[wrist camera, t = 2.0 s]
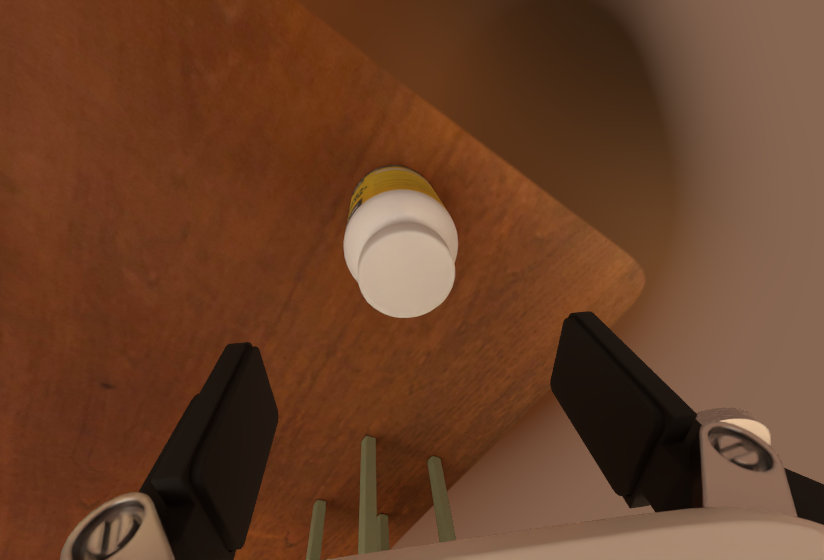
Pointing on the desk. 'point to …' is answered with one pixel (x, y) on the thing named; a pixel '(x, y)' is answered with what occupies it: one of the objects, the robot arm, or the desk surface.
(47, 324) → the desk surface
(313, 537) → the mint side table
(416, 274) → the pill bottle
